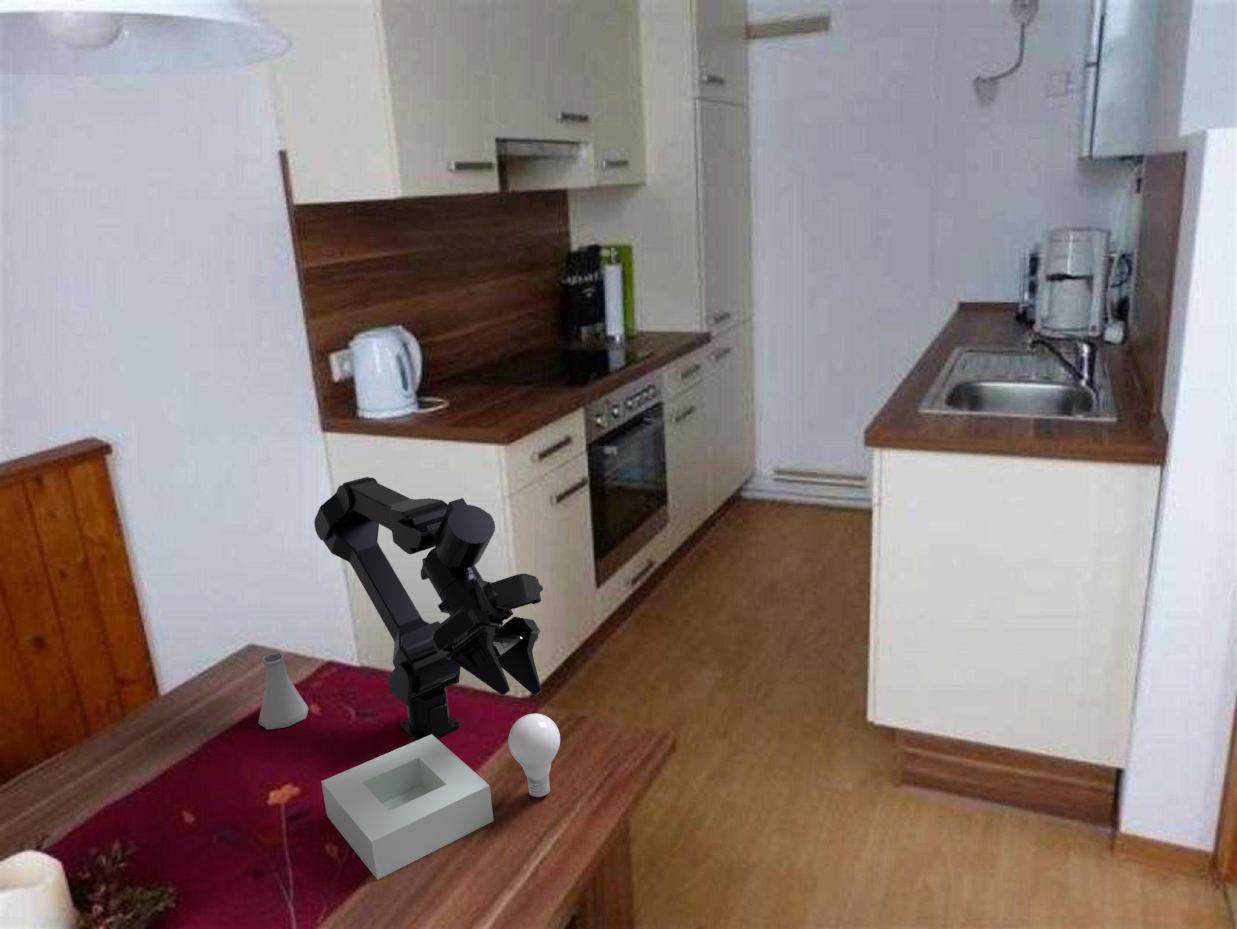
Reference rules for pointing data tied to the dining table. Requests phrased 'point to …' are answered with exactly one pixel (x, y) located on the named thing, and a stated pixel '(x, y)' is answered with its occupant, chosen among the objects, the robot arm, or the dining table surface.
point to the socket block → (406, 804)
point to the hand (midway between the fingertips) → (522, 693)
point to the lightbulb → (535, 749)
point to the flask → (280, 696)
